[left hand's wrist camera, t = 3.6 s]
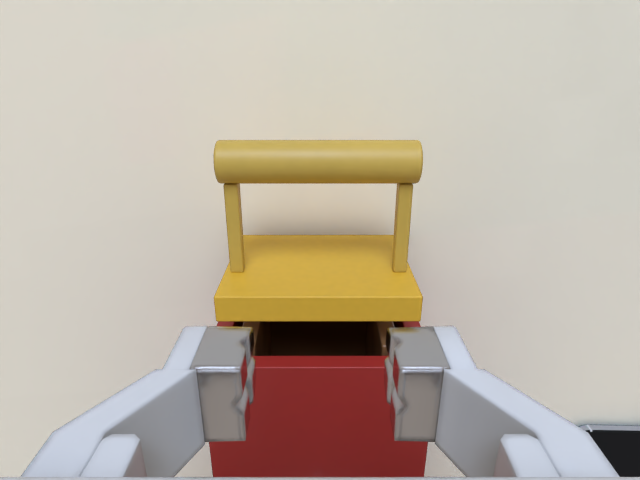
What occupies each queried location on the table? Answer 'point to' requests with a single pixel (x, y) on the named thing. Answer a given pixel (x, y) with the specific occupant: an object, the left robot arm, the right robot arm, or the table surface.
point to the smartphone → (618, 446)
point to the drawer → (318, 251)
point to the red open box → (319, 421)
